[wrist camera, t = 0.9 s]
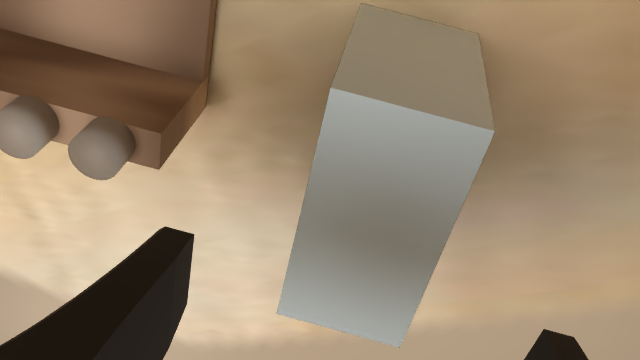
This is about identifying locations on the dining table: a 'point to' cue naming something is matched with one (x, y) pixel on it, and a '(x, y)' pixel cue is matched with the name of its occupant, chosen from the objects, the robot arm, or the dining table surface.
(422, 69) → the grey block
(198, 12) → the wooden rimmed tray
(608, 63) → the dining table surface
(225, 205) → the dining table surface
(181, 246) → the robot arm
